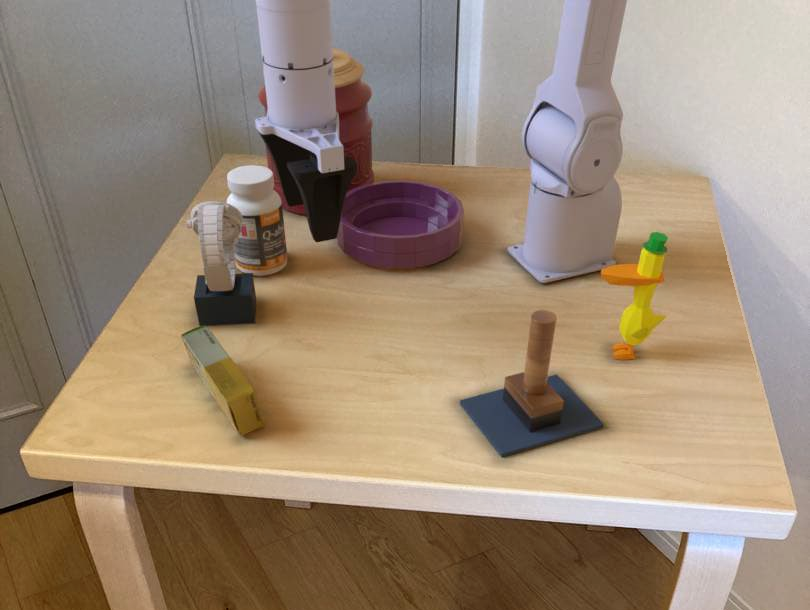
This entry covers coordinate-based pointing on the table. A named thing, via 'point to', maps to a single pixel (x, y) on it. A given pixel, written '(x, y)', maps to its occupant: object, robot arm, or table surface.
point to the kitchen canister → (343, 122)
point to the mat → (512, 433)
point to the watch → (221, 267)
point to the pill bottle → (258, 221)
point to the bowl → (400, 224)
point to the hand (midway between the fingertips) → (311, 220)
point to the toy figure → (638, 294)
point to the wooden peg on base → (535, 378)
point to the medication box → (223, 380)
